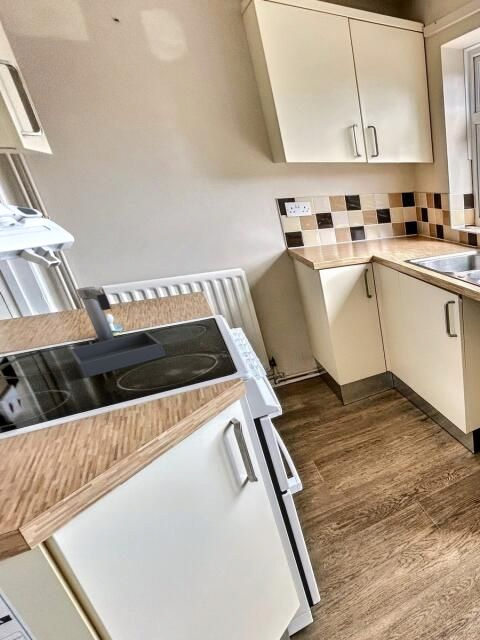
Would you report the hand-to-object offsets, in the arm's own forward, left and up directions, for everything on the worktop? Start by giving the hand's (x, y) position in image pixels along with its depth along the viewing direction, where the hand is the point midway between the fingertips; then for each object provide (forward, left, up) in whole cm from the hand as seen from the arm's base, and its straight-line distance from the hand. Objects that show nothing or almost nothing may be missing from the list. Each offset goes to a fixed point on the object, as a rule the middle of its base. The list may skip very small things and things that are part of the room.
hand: (54, 265), depth 98 cm
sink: (+4, -8, -24) cm, 25 cm away
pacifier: (+6, +17, -24) cm, 30 cm away
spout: (+4, 0, -11) cm, 12 cm away
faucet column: (+4, +4, -24) cm, 24 cm away
